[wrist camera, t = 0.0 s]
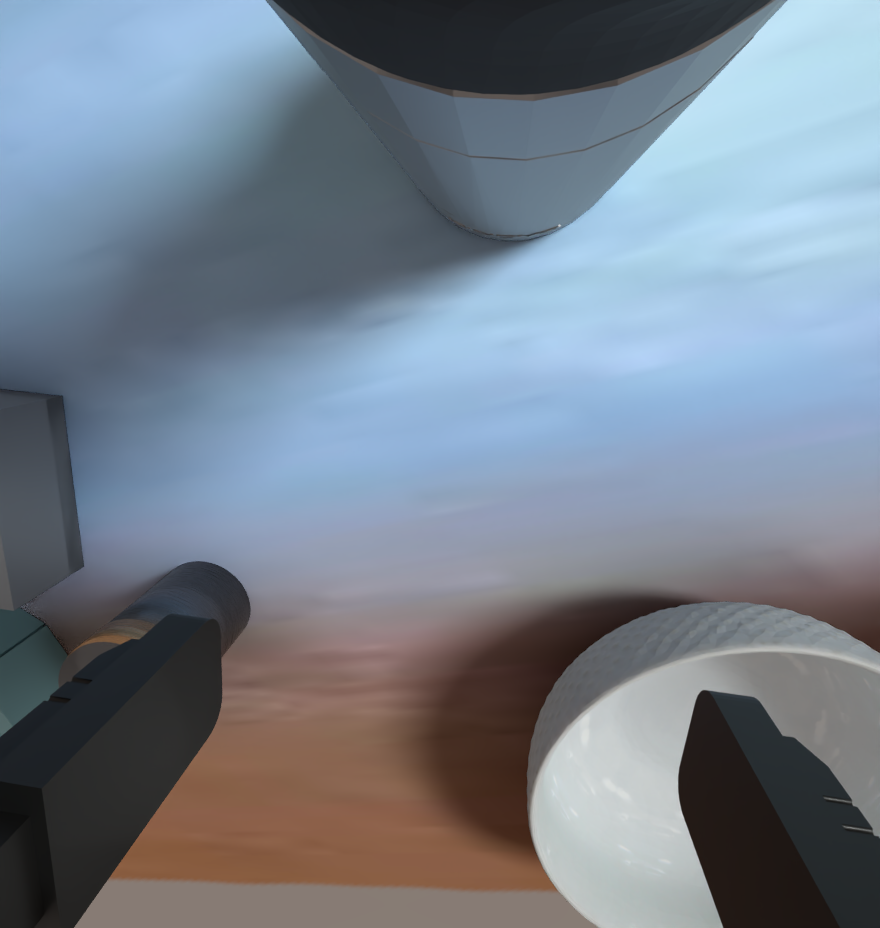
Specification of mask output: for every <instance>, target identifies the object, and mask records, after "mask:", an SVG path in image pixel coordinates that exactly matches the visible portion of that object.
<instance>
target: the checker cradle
mask: <svg viewBox="0 0 880 928" xmlns="http://www.w3.org/2000/svg"><path fill="white" fill-rule="evenodd" d="M82 567H84V563H83V555H82V548H81V540H80V532H79V524H78V516H77V509H76V501H75V493H74V485H73V477H72V469H71V462H70V454H69V446H68V438H67V430H66V423H65V415H64V407H63V399H62V396H59V395H49V394H40V393H30V392H21V391H12V390H2V389H0V609H5V610H11V611H15V610H16V609H18V608H19V607H21V606H22V605H24V604H26V603H27V602H29V601H30V600H32V599H33V598H35V597H37V596H38V595H40V594H41V593H43V592H45V591H46V590H48V589H49V588H51V587H52V586H54V585H56V584H57V583H59V582H60V581H62V580H63V579H65V578H67V577H68V576H70V575H71V574H73V573H74V572H76V571H78V570H79V569H81V568H82Z"/></svg>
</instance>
